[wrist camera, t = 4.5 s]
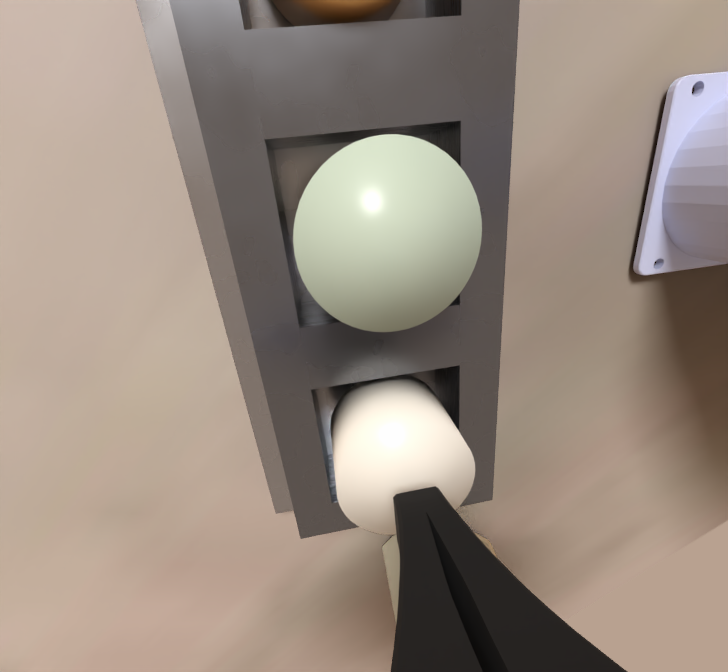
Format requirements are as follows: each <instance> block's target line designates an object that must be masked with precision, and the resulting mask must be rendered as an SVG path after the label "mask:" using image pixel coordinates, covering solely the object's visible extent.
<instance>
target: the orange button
mask: <svg viewBox="0 0 728 672" xmlns="http://www.w3.org/2000/svg"><path fill="white" fill-rule="evenodd" d="M400 1H401V0H272V2H273V3H274V4H275V6H276V7H277V9H278V10H279V11H280V12H281V14H282V15H283V16H284V17H285V18H286V19H287V20H288V21H289V22H290V23H291V24H292V25H294V26H310V25H325V24H340V23H355V22H370V21H385V20H388V19H389V18H390V16H391V15H392V14H393V13H394V11H395V9H396V8H397V6H398V4H399V3H400Z"/></svg>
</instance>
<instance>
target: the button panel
mask: <svg viewBox="0 0 728 672" xmlns="http://www.w3.org/2000/svg"><path fill="white" fill-rule="evenodd" d="M136 3H137V7H138V11H139V14H140V18H141V22H142V25H143V29H144V33H145V36H146V40H147V43H148V47H149V51H150V54H151V58H152V62H153V65H154V69H155V73H156V76H157V80H158V84H159V87H160V91H161V95H162V98H163V102H164V106H165V109H166V113H167V117H168V120H169V124H170V128H171V131H172V135H173V139H174V142H175V146H176V150H177V153H178V157H179V161H180V164H181V168H182V172H183V175H184V179H185V183H186V186H187V190H188V194H189V197H190V201H191V205H192V208H193V212H194V216H195V219H196V223H197V227H198V230H199V234H200V238H201V241H202V245H203V249H204V252H205V256H206V260H207V263H208V267H209V271H210V274H211V278H212V282H213V285H214V289H215V293H216V296H217V300H218V303H219V307H220V311H221V314H222V318H223V322H224V325H225V329H226V333H227V336H228V340H229V344H230V347H231V351H232V355H233V358H234V362H235V366H236V369H237V373H238V377H239V380H240V384H241V388H242V391H243V395H244V399H245V402H246V406H247V410H248V413H249V417H250V421H251V424H252V428H253V432H254V435H255V439H256V443H257V446H258V450H259V454H260V457H261V461H262V465H263V468H264V472H265V476H266V479H267V483H268V487H269V490H270V494H271V498H272V501H273V505H274V509H275V512H276V514H277V513H282V512H287V511H292V510H294V513H295V517H296V521H297V525H298V529H299V534H300V538H301V539H302V538H307V537H312V536H316V535H321V534H326V533H331V532H336V531H341V530H346V529H351V528H356V527H359V526H357V525H356V524H354V523H353V522H352V521H350V520H349V519H348V518H347V517H346V515H345V514H344V513H343V511H342V509H341V507H340V505H339V502H338V499H337V491H336V481H335V471H334V461H333V451H332V441H331V430H330V423H331V417H332V413H333V411H334V408H335V406H336V404H337V403H338V401H339V400H340V398H341V397H342V396H343V395H344V394H345V393H346V392H347V391H348V390H349V389H350V388H351V387H353V386H354V385H355V384H357V383H359V382H361V381H367V380H373V379H379V378H385V377H391V376H397V375H404V374H406V375H410V376H413V377H415V378H418V379H420V380H421V381H423V382H425V383H426V384H427V385H428V386H429V387H430V388H431V389H432V390H433V391H434V392H435V394H436V396H437V397H438V399H439V400H440V402H441V404H442V405H443V407H444V408H445V410H446V412H447V413H448V415H449V416H450V418H451V420H452V421H453V423H454V424H455V426H456V428H457V429H458V431H459V432H460V434H461V436H462V437H463V439H464V440H465V442H466V444H467V445H468V447H469V448H470V450H471V452H472V455H473V457H474V462H475V477H474V481H473V485H472V487H471V490H470V492H469V493H468V495H467V497H466V498H465V500H464V501H463V502H462V504H461V505H460V506H464V505H469V504H474V503H479V502H484V501H489V500H492V497H493V479H494V460H495V442H496V424H497V405H498V387H499V369H500V350H501V332H502V314H503V295H504V277H505V259H506V241H507V222H508V204H509V186H510V167H511V149H512V131H513V112H514V94H515V76H516V58H517V39H518V21H519V3H520V0H401V1H400V3H399V4H398V6H397V8H396V9H395V11H394V13H393V14H392V15H391V16H390V18H389V19H388V20H385V21H370V22H355V23H340V24H325V25H310V26H294V25H292V24H291V23H290V22H289V21H288V20H287V19H286V18H285V17H284V16H283V15H282V14H281V12H280V11H279V10H278V9H277V7H276V6H275V4H274V3H273V2H272V0H136ZM386 134H398V135H406V136H412V137H415V138H419V139H422V140H425V141H427V142H429V143H431V144H433V145H435V146H437V147H438V148H440V149H441V150H443V151H444V152H446V153H447V154H448V155H449V156H450V157H451V158H452V159H454V160H455V161H456V162H457V164H458V165H459V166H460V167H461V168H462V170H463V171H464V172H465V174H466V175H467V177H468V179H469V180H470V182H471V184H472V186H473V189H474V191H475V193H476V196H477V199H478V203H479V206H480V212H481V219H482V237H481V246H480V251H479V255H478V259H477V262H476V265H475V268H474V270H473V272H472V274H471V276H470V278H469V280H468V282H467V283H466V285H465V287H464V288H463V290H462V291H461V292H460V294H459V295H458V296H457V297H456V299H455V300H454V301H453V302H452V303H451V304H450V305H449V306H448V307H447V308H445V309H444V310H443V311H442V312H440V313H439V314H438V315H436V316H435V317H433V318H432V319H430V320H428V321H426V322H424V323H422V324H420V325H418V326H415V327H412V328H409V329H405V330H400V331H394V332H372V331H366V330H362V329H358V328H355V327H352V326H350V325H347V324H345V323H343V322H341V321H339V320H338V319H336V318H335V317H333V316H332V315H330V314H329V313H328V312H327V311H325V310H324V309H323V308H322V307H321V306H320V305H319V304H318V303H317V302H316V301H315V299H314V298H313V297H312V295H311V294H310V292H309V291H308V289H307V288H306V286H305V284H304V282H303V280H302V278H301V275H300V273H299V270H298V267H297V263H296V259H295V254H294V245H293V229H294V222H295V216H296V212H297V209H298V205H299V202H300V199H301V197H302V195H303V193H304V190H305V188H306V187H307V185H308V183H309V182H310V180H311V178H312V177H313V176H314V174H315V173H316V172H317V171H318V169H319V168H320V167H321V166H322V165H323V164H324V163H325V162H326V161H327V160H328V159H329V158H330V157H331V156H333V155H334V154H335V153H337V152H338V151H340V150H341V149H343V148H344V147H346V146H348V145H350V144H352V143H354V142H356V141H359V140H362V139H365V138H368V137H372V136H378V135H386ZM460 506H459V507H460Z"/></svg>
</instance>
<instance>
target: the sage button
mask: <svg viewBox="0 0 728 672" xmlns="http://www.w3.org/2000/svg"><path fill="white" fill-rule="evenodd" d="M481 237H482V219H481V212H480V206H479V203H478V199H477V196H476V193H475V191H474V189H473V186H472V184H471V182H470V180H469V179H468V177H467V175H466V174H465V172H464V171H463V170H462V168H461V167H460V166H459V165H458V164H457V162H456V161H455V160H454V159H452V158H451V157H450V156H449V155H448V154H447V153H446V152H444V151H443V150H441V149H440V148H438V147H437V146H435V145H433V144H431V143H429V142H427V141H425V140H422V139H419V138H415V137H412V136H406V135H398V134H386V135H378V136H372V137H368V138H365V139H362V140H359V141H356V142H354V143H352V144H350V145H348V146H346V147H344V148H343V149H341V150H340V151H338V152H337V153H335V154H334V155H333V156H331V157H330V158H329V159H328V160H327V161H326V162H325V163H324V164H323V165H322V166H321V167H320V168H319V169H318V171H317V172H316V173H315V174H314V176H313V177H312V178H311V180H310V182H309V183H308V185H307V187H306V188H305V190H304V193H303V195H302V197H301V199H300V202H299V205H298V209H297V212H296V216H295V222H294V229H293V245H294V254H295V259H296V263H297V267H298V270H299V273H300V275H301V278H302V280H303V282H304V284H305V286H306V288H307V289H308V291H309V292H310V294H311V295H312V297H313V298H314V299H315V301H316V302H317V303H318V304H319V305H320V306H321V307H322V308H323V309H324V310H325V311H327V312H328V313H329V314H330V315H332V316H333V317H335V318H336V319H338V320H339V321H341V322H343V323H345V324H347V325H350V326H352V327H355V328H358V329H362V330H366V331H372V332H394V331H400V330H405V329H409V328H412V327H415V326H418V325H420V324H422V323H424V322H426V321H428V320H430V319H432V318H433V317H435V316H436V315H438V314H439V313H440V312H442V311H443V310H444V309H445V308H447V307H448V306H449V305H450V304H451V303H452V302H453V301H454V300H455V299H456V297H457V296H458V295H459V294H460V292H461V291H462V290H463V288H464V287H465V285H466V283H467V282H468V280H469V278H470V276H471V274H472V272H473V270H474V268H475V265H476V262H477V259H478V255H479V251H480V246H481Z"/></svg>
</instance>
